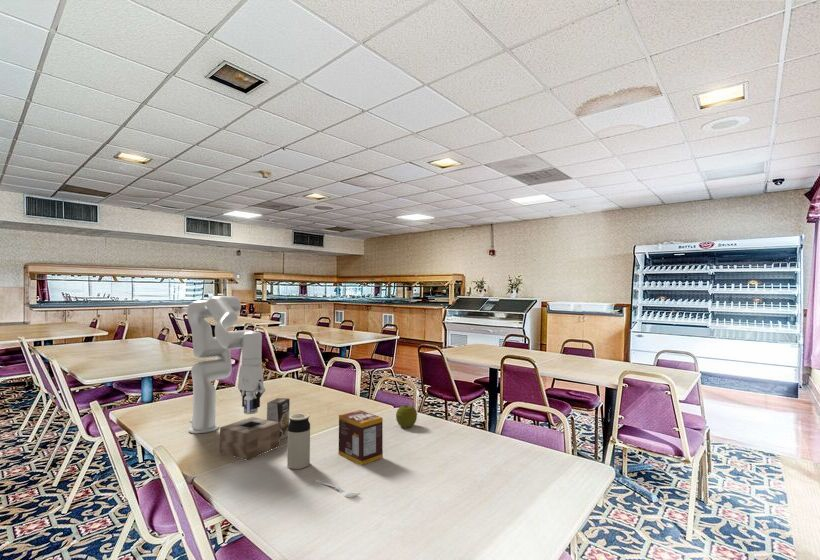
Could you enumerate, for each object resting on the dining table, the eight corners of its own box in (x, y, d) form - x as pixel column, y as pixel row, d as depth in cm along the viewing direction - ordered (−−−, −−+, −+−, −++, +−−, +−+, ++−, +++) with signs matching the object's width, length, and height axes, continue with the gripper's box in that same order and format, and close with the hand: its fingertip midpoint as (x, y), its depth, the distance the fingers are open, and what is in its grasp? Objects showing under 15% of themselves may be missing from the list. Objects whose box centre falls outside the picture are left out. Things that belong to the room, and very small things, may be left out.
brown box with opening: (219, 452, 163) (220, 427, 163) (252, 440, 177) (252, 416, 177) (247, 460, 155) (248, 433, 155) (279, 446, 169) (279, 422, 170)
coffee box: (279, 441, 175) (279, 403, 176) (265, 440, 177) (266, 402, 177) (289, 434, 184) (290, 398, 185) (276, 433, 186) (277, 397, 186)
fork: (313, 476, 142) (313, 471, 143) (361, 498, 127) (361, 492, 127) (305, 480, 140) (305, 474, 140) (354, 502, 125) (354, 496, 125)
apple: (392, 428, 193) (392, 405, 193) (400, 422, 202) (401, 400, 202) (412, 431, 189) (412, 407, 190) (419, 425, 198) (419, 402, 199)
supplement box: (358, 447, 169) (359, 409, 170) (383, 458, 158) (383, 417, 159) (337, 454, 162) (338, 414, 162) (361, 465, 151) (362, 423, 151)
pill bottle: (259, 410, 169) (259, 389, 169) (255, 414, 164) (255, 392, 164) (246, 410, 169) (246, 389, 169) (241, 414, 164) (242, 392, 164)
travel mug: (289, 471, 146) (290, 420, 146) (285, 463, 153) (286, 414, 153) (311, 467, 149) (312, 417, 150) (306, 459, 156) (307, 411, 157)
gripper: (229, 361, 168) (228, 406, 167) (259, 365, 160) (258, 412, 159) (244, 359, 175) (244, 402, 174) (273, 362, 166) (273, 407, 166)
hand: (250, 406), depth 167 cm, fingers closed on pill bottle, 5 cm apart
